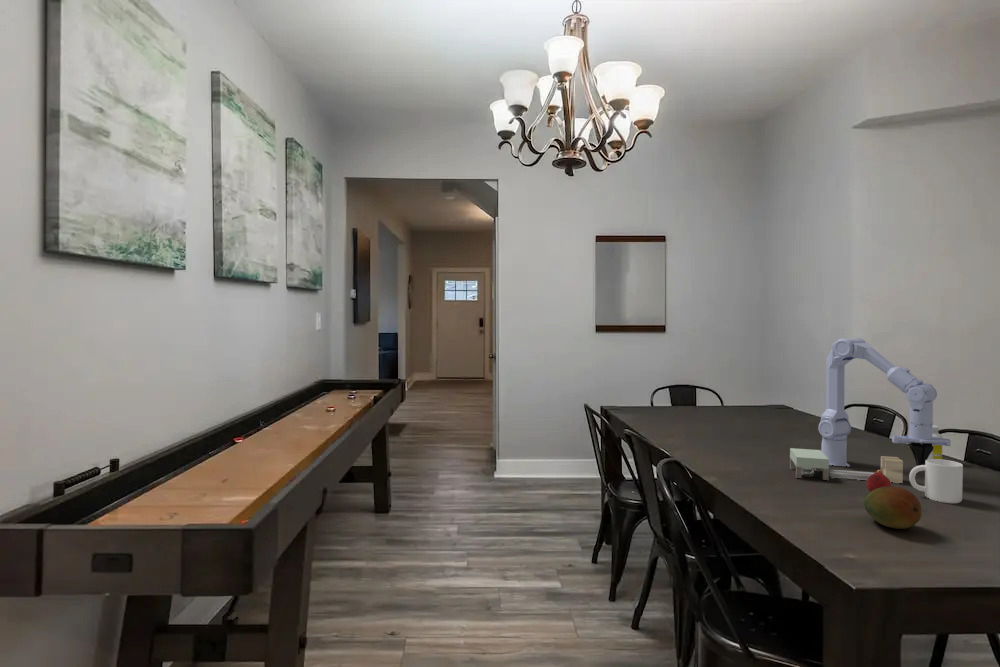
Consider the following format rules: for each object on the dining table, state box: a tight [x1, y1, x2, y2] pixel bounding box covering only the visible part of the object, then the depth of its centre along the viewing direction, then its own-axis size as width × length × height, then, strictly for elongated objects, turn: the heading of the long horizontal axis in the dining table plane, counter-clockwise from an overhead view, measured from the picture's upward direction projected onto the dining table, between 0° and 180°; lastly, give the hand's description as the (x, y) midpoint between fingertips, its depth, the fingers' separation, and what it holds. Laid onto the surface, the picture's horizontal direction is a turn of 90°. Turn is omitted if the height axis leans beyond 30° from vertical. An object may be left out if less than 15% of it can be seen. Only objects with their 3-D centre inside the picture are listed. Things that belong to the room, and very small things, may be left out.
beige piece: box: [829, 455, 904, 484], centre depth 180 cm, size 5×20×7 cm, turn 71°
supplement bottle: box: [928, 425, 943, 460], centre depth 200 cm, size 7×7×13 cm
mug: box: [908, 459, 964, 504], centre depth 161 cm, size 12×8×10 cm
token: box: [801, 467, 815, 477], centre depth 186 cm, size 5×5×2 cm
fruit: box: [863, 485, 923, 530], centre depth 139 cm, size 12×12×10 cm
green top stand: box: [789, 447, 830, 482], centre depth 185 cm, size 13×9×7 cm
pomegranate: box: [865, 469, 892, 493], centre depth 161 cm, size 6×6×8 cm
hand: (920, 467), depth 175 cm, fingers closed
